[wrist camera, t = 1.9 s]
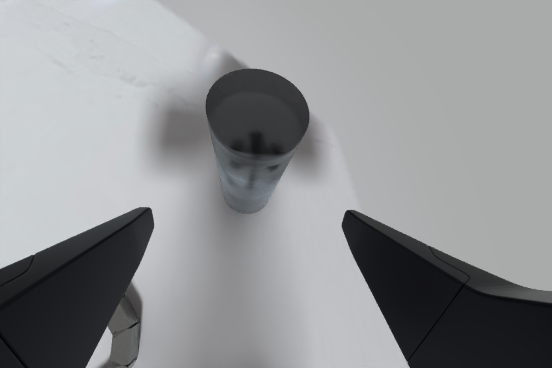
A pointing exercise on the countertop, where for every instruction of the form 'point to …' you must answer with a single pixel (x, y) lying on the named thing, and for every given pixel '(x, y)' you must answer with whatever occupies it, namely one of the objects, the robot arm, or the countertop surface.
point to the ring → (124, 335)
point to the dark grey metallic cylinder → (254, 133)
